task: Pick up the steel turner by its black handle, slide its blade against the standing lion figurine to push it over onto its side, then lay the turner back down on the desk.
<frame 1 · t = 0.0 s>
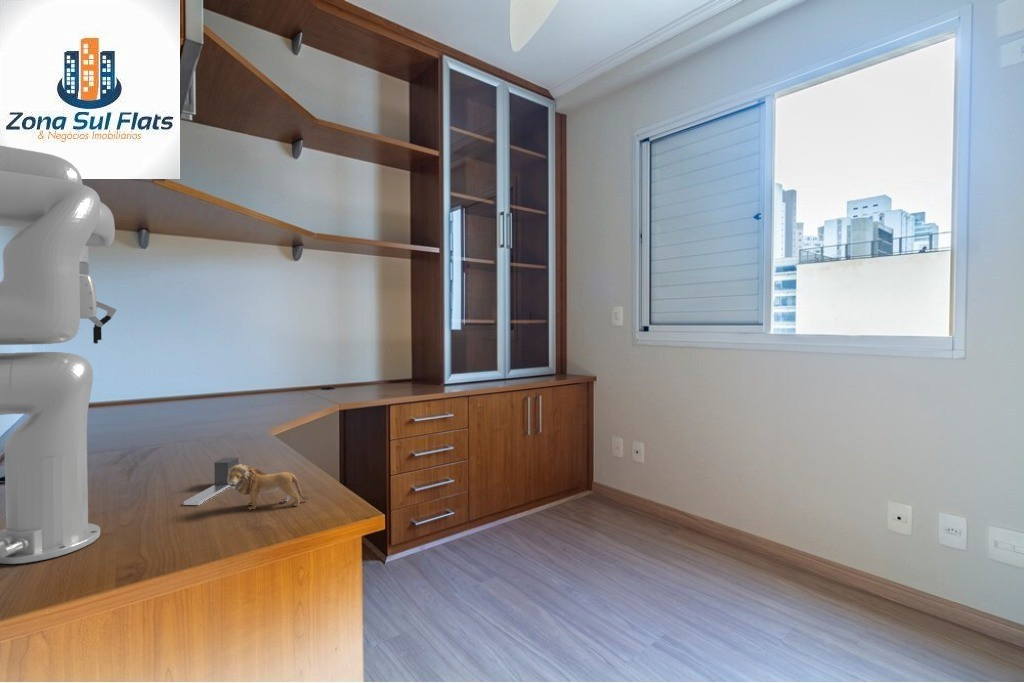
hand: (68, 343, 111), 31 cm above the table, tool pointing down, fingers open, 9 cm apart
lion figurine: (266, 507, 95), on the table
steel turner: (226, 486, 107), on the table
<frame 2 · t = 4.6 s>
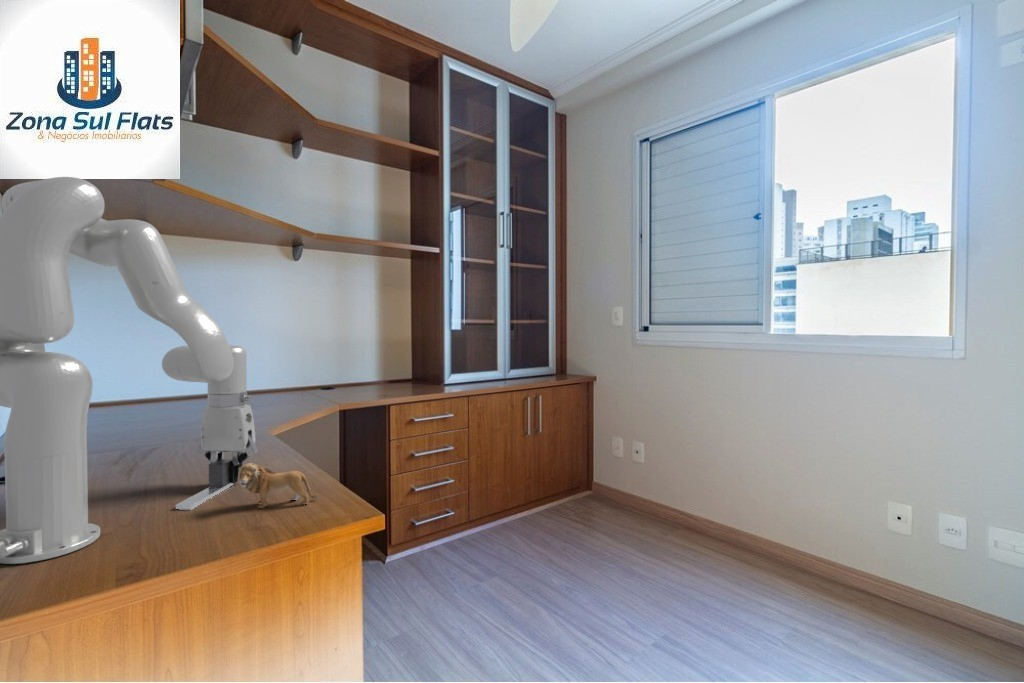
hand: (227, 480, 107), 1 cm above the table, tool pointing down, fingers closed on steel turner, 3 cm apart
lion figurine: (276, 506, 96), on the table
steel turner: (221, 488, 105), on the table, touching gripper
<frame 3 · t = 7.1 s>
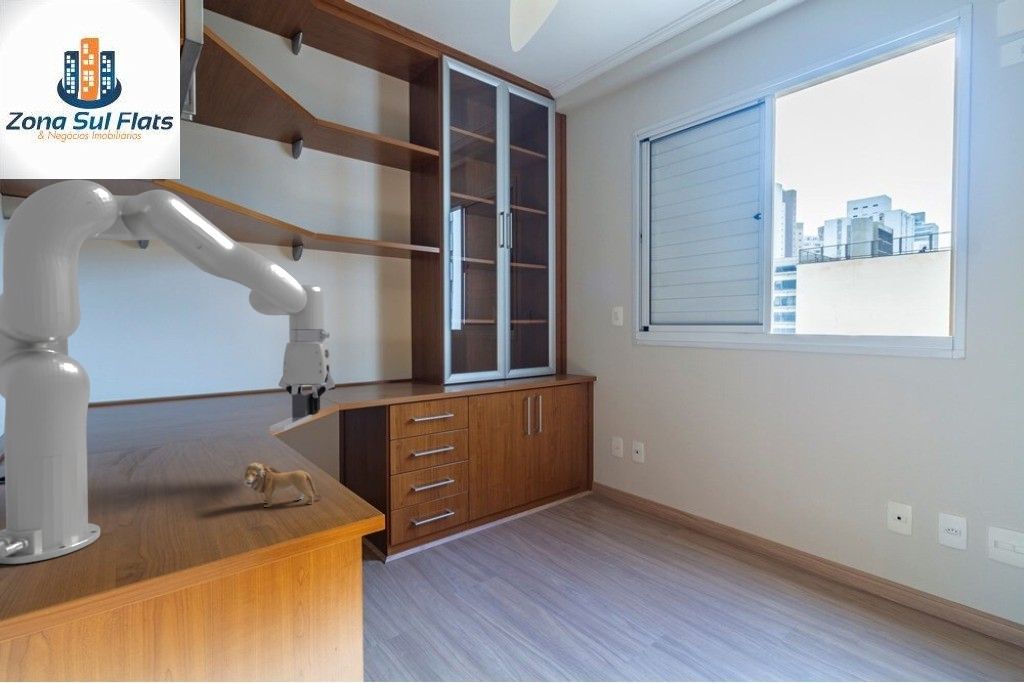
hand: (307, 413, 114), 15 cm above the table, tool pointing down, fingers closed on steel turner, 3 cm apart
steel turner: (302, 419, 111), point 14 cm above the table, touching gripper
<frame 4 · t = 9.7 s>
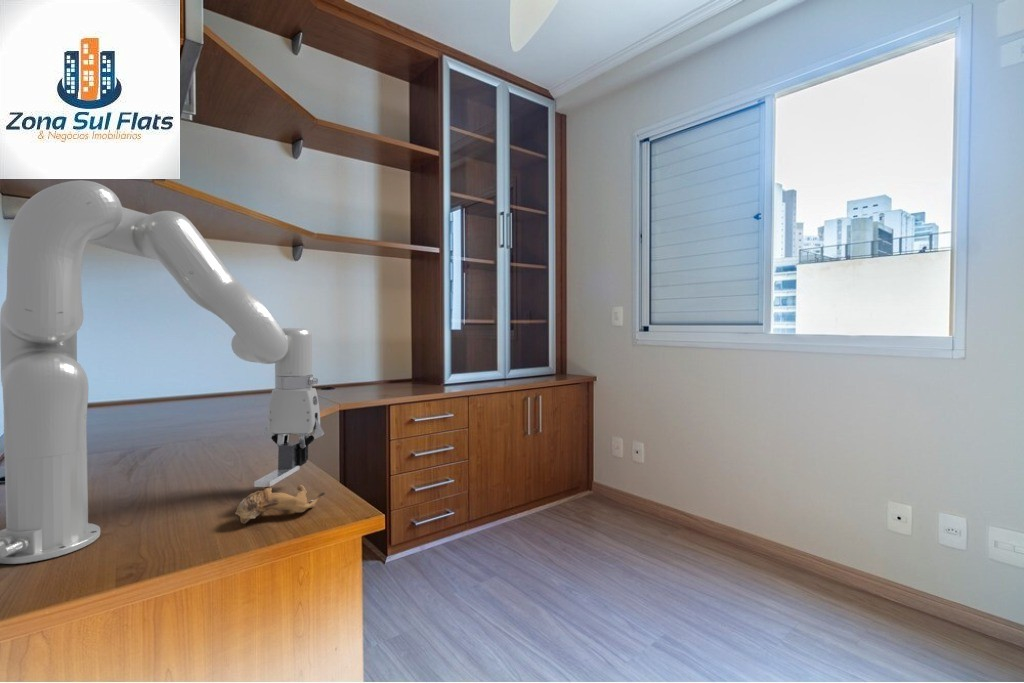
hand: (294, 463, 107), 5 cm above the table, tool pointing down, fingers closed on steel turner, 3 cm apart
lion figurine: (283, 496, 95), point 2 cm above the table
steel turner: (288, 471, 104), point 4 cm above the table, touching gripper
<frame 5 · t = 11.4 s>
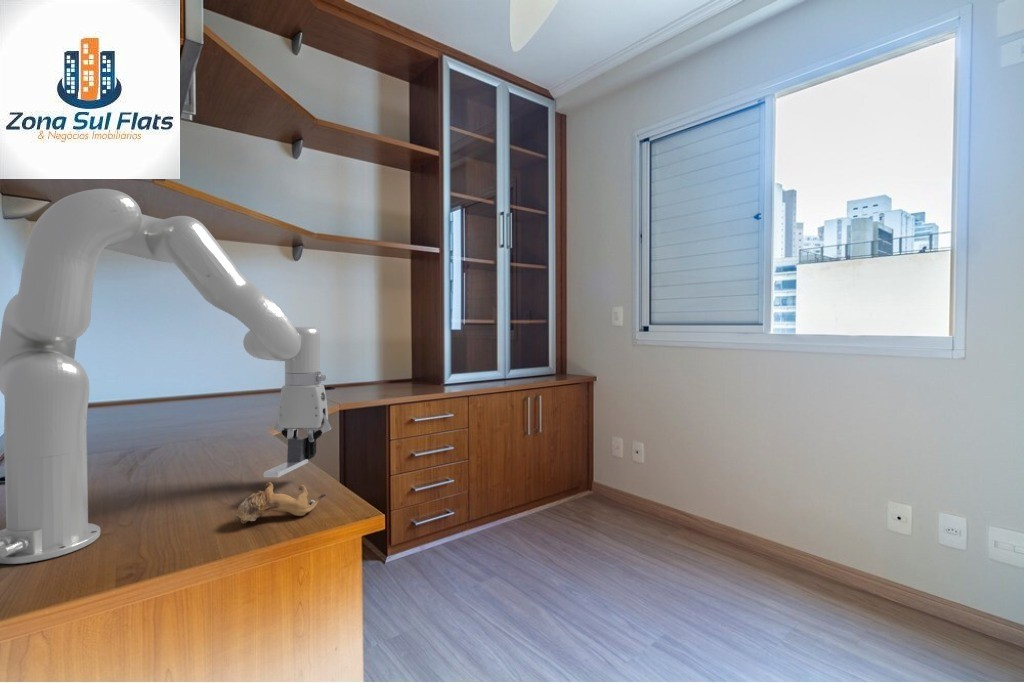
hand: (302, 456, 111), 5 cm above the table, tool pointing down, fingers closed on steel turner, 3 cm apart
steel turner: (297, 464, 109), point 5 cm above the table, touching gripper
when the fingers open (3 cm above the table, at t = 15.7 s): steel turner drops 2 cm, on the table.
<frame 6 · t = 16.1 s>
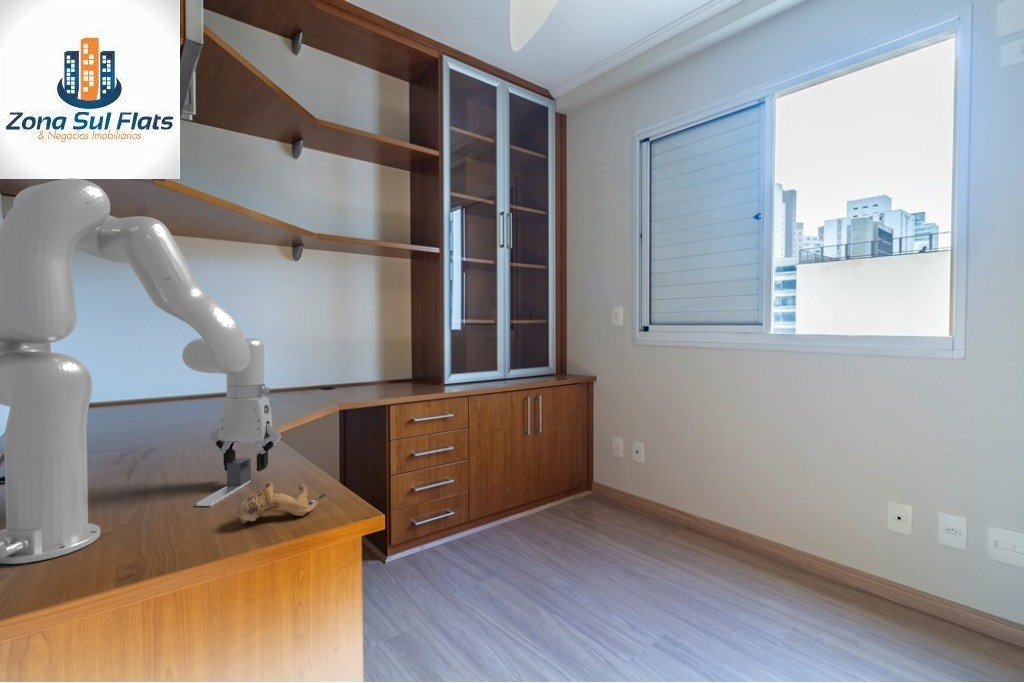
hand: (245, 468, 109), 3 cm above the table, tool pointing down, fingers open, 6 cm apart
steel turner: (239, 487, 107), on the table
everything else where it was.
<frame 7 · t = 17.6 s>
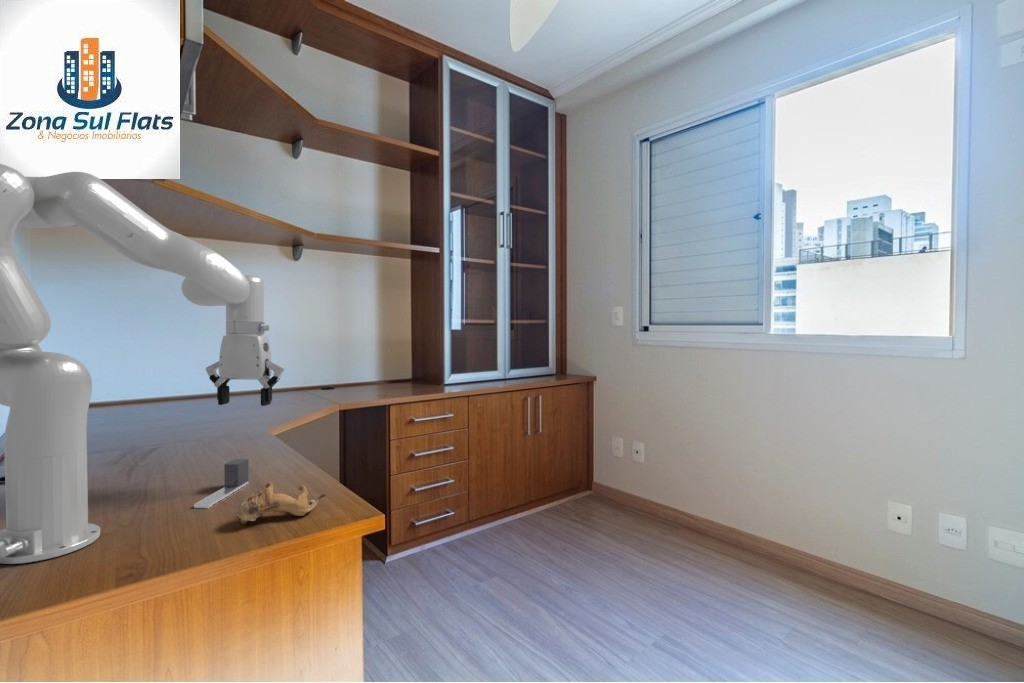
hand: (244, 404, 108), 18 cm above the table, tool pointing down, fingers open, 9 cm apart
nothing on the table moved.
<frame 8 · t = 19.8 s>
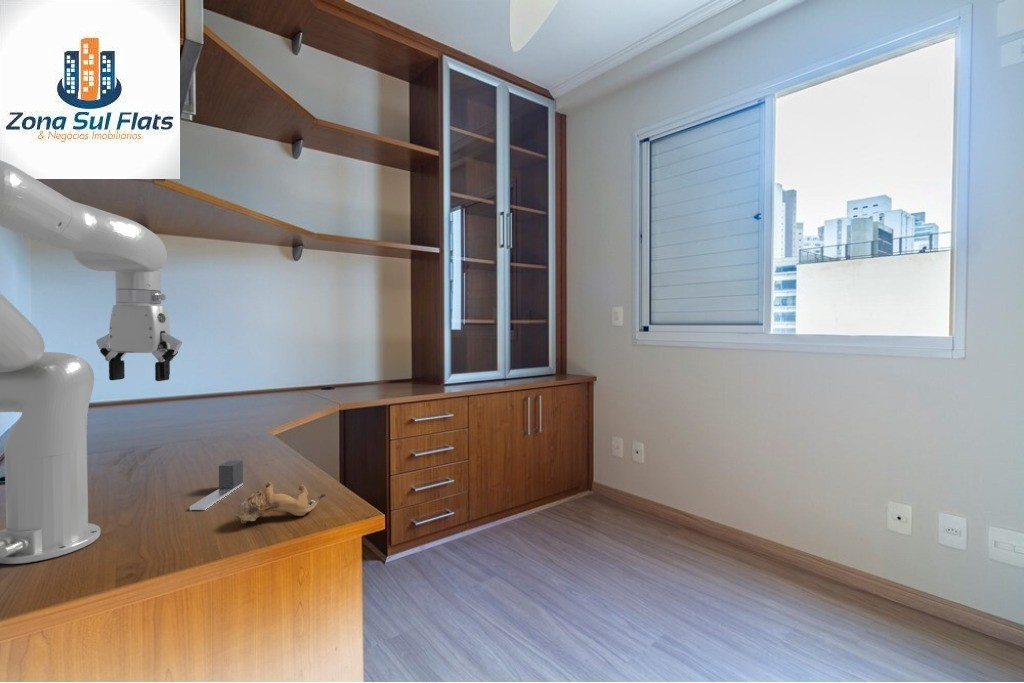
hand: (139, 380, 100), 24 cm above the table, tool pointing down, fingers open, 9 cm apart
steel turner: (231, 490, 105), on the table
everything else where it was.
at the end: lion figurine tilted 96°; the gripper is holding nothing; steel turner inside the target area (4.7 cm from its centre), on the table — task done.
